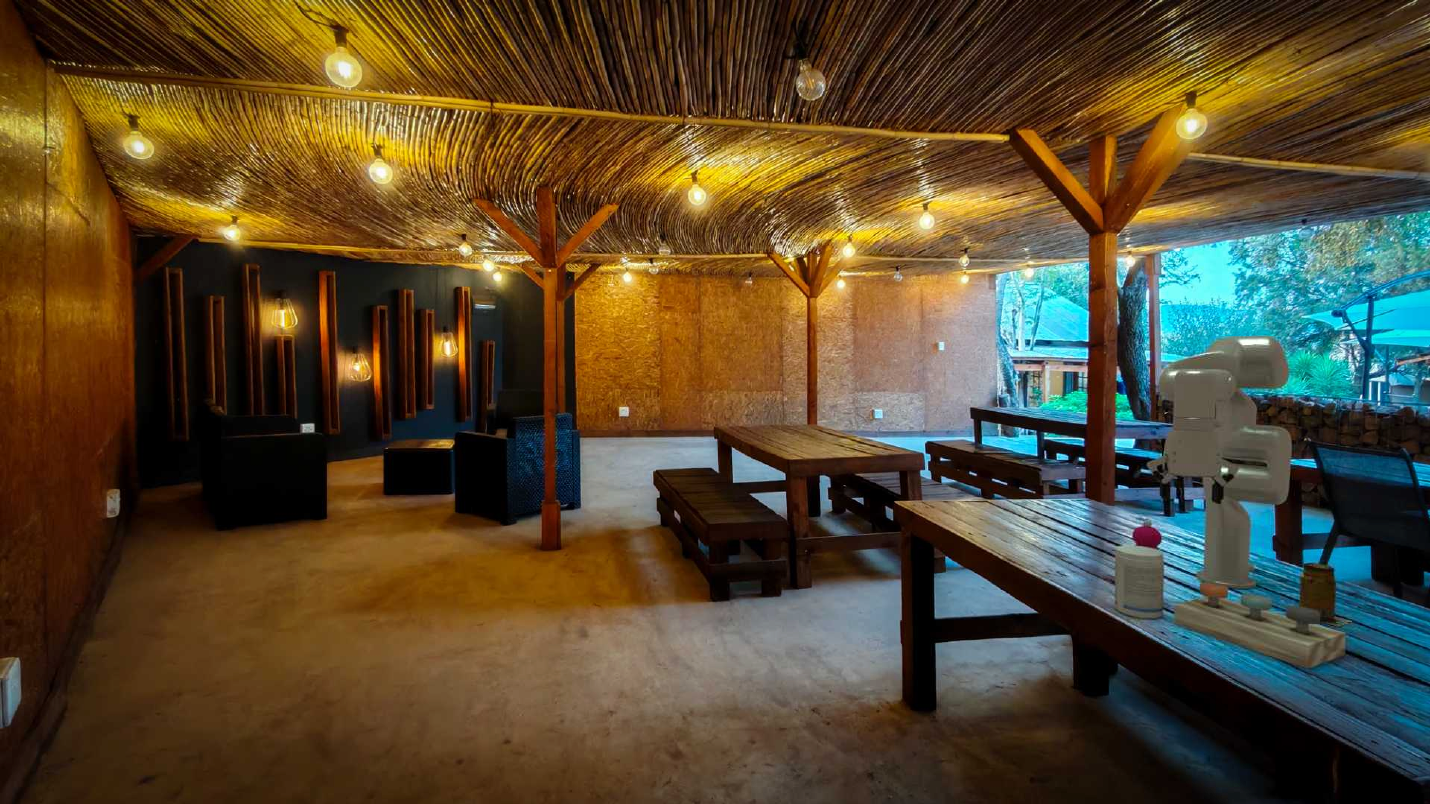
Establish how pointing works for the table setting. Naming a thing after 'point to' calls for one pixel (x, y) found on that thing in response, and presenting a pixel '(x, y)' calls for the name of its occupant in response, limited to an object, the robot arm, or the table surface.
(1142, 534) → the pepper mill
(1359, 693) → the table surface
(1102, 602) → the table surface
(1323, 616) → the condiment
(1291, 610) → the button charcoal
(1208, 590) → the button vermilion
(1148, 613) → the supplement tub
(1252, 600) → the button teal
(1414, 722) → the table surface
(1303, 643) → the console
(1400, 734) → the table surface
